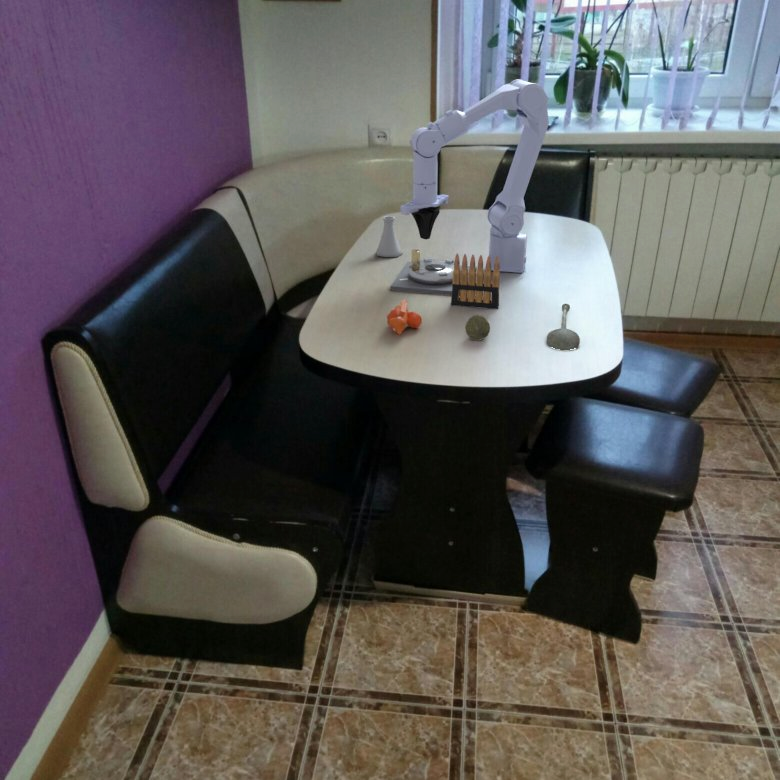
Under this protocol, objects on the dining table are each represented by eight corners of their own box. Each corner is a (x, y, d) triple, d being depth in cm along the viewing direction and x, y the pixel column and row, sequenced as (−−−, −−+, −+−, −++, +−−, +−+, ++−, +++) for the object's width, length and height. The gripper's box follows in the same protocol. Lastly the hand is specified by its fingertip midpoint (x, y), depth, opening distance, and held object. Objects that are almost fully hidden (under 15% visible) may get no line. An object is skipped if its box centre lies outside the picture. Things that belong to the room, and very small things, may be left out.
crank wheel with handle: (450, 263, 185) (451, 238, 182) (469, 280, 174) (470, 254, 171) (401, 269, 182) (401, 243, 179) (418, 287, 171) (418, 259, 168)
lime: (492, 340, 148) (493, 318, 146) (471, 344, 147) (472, 321, 144) (482, 332, 152) (483, 310, 149) (461, 335, 150) (462, 313, 148)
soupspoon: (544, 354, 145) (577, 358, 144) (546, 339, 143) (580, 343, 142) (551, 308, 163) (581, 312, 162) (553, 294, 161) (583, 298, 160)
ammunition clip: (450, 305, 165) (452, 254, 159) (452, 302, 166) (453, 251, 160) (498, 309, 162) (501, 257, 157) (499, 306, 164) (502, 254, 158)
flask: (399, 259, 193) (399, 221, 188) (373, 257, 194) (372, 220, 189) (404, 250, 199) (404, 214, 194) (379, 249, 201) (378, 213, 196)
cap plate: (476, 270, 184) (476, 266, 184) (465, 296, 169) (465, 291, 169) (407, 265, 188) (407, 261, 188) (390, 290, 173) (390, 285, 173)
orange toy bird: (394, 291, 157) (389, 313, 147) (427, 302, 158) (423, 325, 147) (387, 311, 160) (381, 334, 149) (419, 322, 160) (415, 346, 150)
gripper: (415, 190, 165) (415, 248, 171) (458, 179, 173) (457, 234, 180) (394, 185, 169) (395, 242, 176) (437, 174, 178) (436, 229, 184)
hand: (425, 238), depth 178 cm, fingers closed
